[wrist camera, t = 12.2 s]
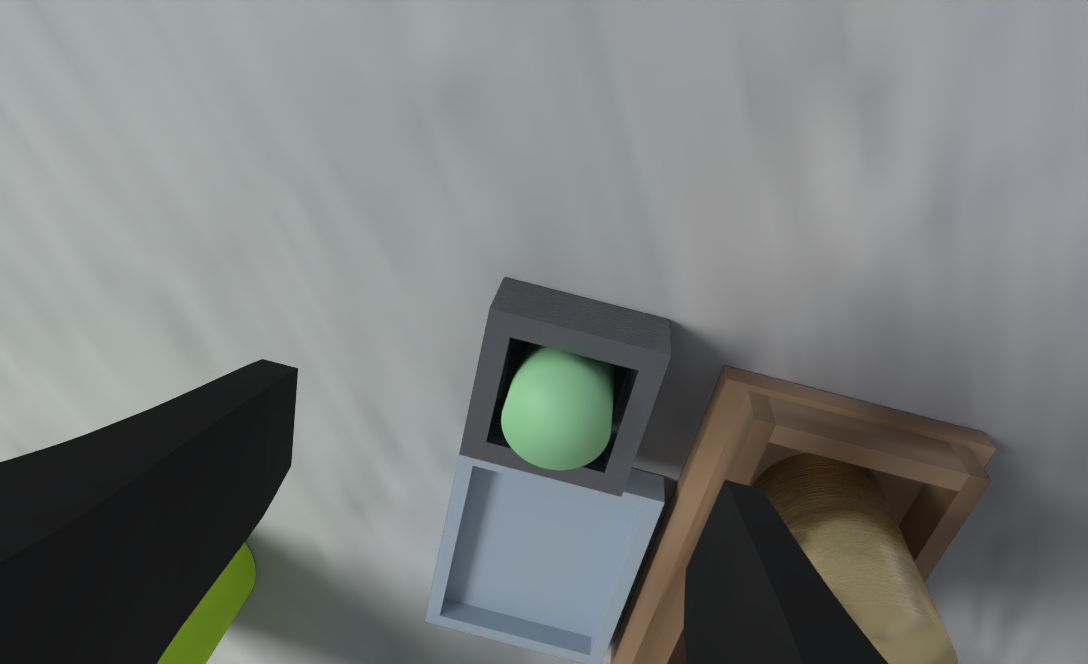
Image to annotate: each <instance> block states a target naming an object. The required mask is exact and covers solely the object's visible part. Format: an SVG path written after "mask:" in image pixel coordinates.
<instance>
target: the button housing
mask: <svg viewBox="0 0 1088 664" xmlns="http://www.w3.org/2000/svg"><path fill="white" fill-rule="evenodd" d="M514 338H515V339H519V340H523V341H526V342H530V343H534V344H538V345H542V346H546V347H550V348H553V349H557V350H561V351H565V352H569V353H573V354H577V355H581V356H584V357H588V358H592V359H596V360H600V361H604V362H608V363H611V364H615V365H619V366H623V367H627V368H628V371H627V374H626V377H625V380H624V383H623V386H622V389H621V392H620V396H619V399H618V402H617V405H616V408H615V411H614V414H613V417H612V423H611V434H610V438H609V441H608V444H607V446H606V447H605V449H604V451H603V452H602V453H601V454H600V455H599V456H598V457H597V458H596V459H595V460H593V461H592V462H590V463H588V464H586V465H584V466H582V467H579V468H575V469H571V470H550V469H545V468H542V467H538V466H536V465H533V464H531V463H529V462H528V461H526V460H524V459H523V458H522V457H520V456H519V455H518V454H517V453H516V452H515V451H514V450H513V449H512V448H511V447H510V445H509V444H508V442H507V440H506V438H505V436H504V433H503V430H502V425H501V416H502V411H503V408H504V405H505V404H504V403H500V398H501V394H502V390H503V385H504V381H505V377H506V372H507V368H508V364H509V359H510V355H511V351H512V346H513V342H514ZM670 358H671V340H670V325H669V319H665V318H661V317H657V316H653V315H649V314H645V313H641V312H637V311H634V310H630V309H626V308H622V307H618V306H614V305H610V304H606V303H603V302H599V301H595V300H591V299H587V298H583V297H579V296H575V295H572V294H568V293H564V292H560V291H556V290H552V289H548V288H544V287H541V286H537V285H533V284H529V283H525V282H521V281H517V280H513V279H510V278H506V277H504V278H503V281H502V283H501V285H500V287H499V289H498V291H497V294H496V296H495V298H494V300H493V302H492V304H491V306H490V309H489V314H488V319H487V324H486V328H485V333H484V338H483V343H482V348H481V352H480V357H479V362H478V367H477V372H476V376H475V381H474V386H473V391H472V396H471V400H470V405H469V410H468V415H467V420H466V424H465V429H464V434H463V439H462V444H461V449H460V453H459V455H462V456H466V457H470V458H474V459H478V460H482V461H485V462H489V463H493V464H497V465H501V466H505V467H508V468H512V469H516V470H520V471H524V472H528V473H531V474H535V475H539V476H543V477H547V478H551V479H554V480H558V481H562V482H566V483H570V484H574V485H577V486H581V487H585V488H589V489H593V490H597V491H600V492H604V493H608V494H612V495H616V496H620V497H622V494H623V491H624V488H625V485H626V483H627V480H628V477H629V474H630V471H631V468H632V466H633V463H634V460H635V457H636V454H637V451H638V449H639V446H640V443H641V440H642V437H643V434H644V432H645V429H646V426H647V423H648V420H649V418H650V415H651V412H652V409H653V406H654V403H655V401H656V398H657V395H658V392H659V389H660V386H661V384H662V381H663V378H664V375H665V372H666V369H667V367H668V364H669V361H670Z"/></svg>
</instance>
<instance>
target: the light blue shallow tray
mask: <svg viewBox="0 0 1088 664" xmlns="http://www.w3.org/2000/svg"><path fill="white" fill-rule="evenodd" d="M460 449H461V448H460ZM459 453H460V452H459ZM664 503H665V500H664V477H663V476H659V475H656V474H652V473H648V472H644V471H640V470H636V469H633V468H631V471H630V474H629V477H628V480H627V483H626V485H625V488H624V491H623V494H622V497H620V496H616V495H612V494H608V493H604V492H600V491H597V490H593V489H589V488H585V487H581V486H577V485H574V484H570V483H566V482H562V481H558V480H554V479H551V478H547V477H543V476H539V475H535V474H531V473H528V472H524V471H520V470H516V469H512V468H508V467H505V466H501V465H497V464H493V463H489V462H485V461H482V460H478V459H474V458H470V457H466V456H462V455H459V457H458V462H457V467H456V472H455V476H454V481H453V486H452V491H451V496H450V500H449V505H448V510H447V515H446V520H445V524H444V529H443V534H442V539H441V544H440V548H439V553H438V558H437V563H436V568H435V573H434V577H433V582H432V587H431V592H430V597H429V601H428V606H427V611H426V616H425V621H424V622H428V623H432V624H436V625H439V626H443V627H447V628H451V629H455V630H458V631H462V632H466V633H470V634H473V635H477V636H481V637H485V638H489V639H492V640H496V641H500V642H504V643H508V644H511V645H515V646H519V647H523V648H527V649H530V650H534V651H538V652H542V653H545V654H549V655H553V656H557V657H561V658H564V659H568V660H572V661H576V662H580V663H583V664H602V661H603V658H604V656H605V653H606V651H607V648H608V646H609V643H610V641H611V638H612V635H613V633H614V630H615V628H616V625H617V623H618V620H619V618H620V615H621V613H622V610H623V607H624V605H625V602H626V600H627V597H628V595H629V592H630V590H631V587H632V584H633V582H634V579H635V577H636V574H637V572H638V569H639V567H640V564H641V562H642V559H643V556H644V554H645V551H646V549H647V546H648V544H649V541H650V539H651V536H652V533H653V531H654V528H655V526H656V523H657V521H658V518H659V516H660V513H661V510H662V508H663V505H664Z"/></svg>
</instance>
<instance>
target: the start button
mask: <svg viewBox="0 0 1088 664" xmlns="http://www.w3.org/2000/svg"><path fill="white" fill-rule="evenodd" d="M614 384H615V369H614V365H613V364H611V363H608V362H604V361H600V360H596V359H592V358H588V357H584V356H581V355H577V354H573V353H569V352H565V351H561V350H557V349H553V348H550V347H546V346H542V345H538V344H534V343H529V344H528V345H527V346H526V347H525V349H524V350H523V352H522V354H521V356H520V359H519V362H518V365H517V368H516V371H515V374H514V377H513V380H512V383H511V386H510V389H509V392H508V395H507V398H506V401H505V405H504V408H503V411H502V416H501V425H502V430H503V433H504V436H505V438H506V440H507V442H508V444H509V445H510V447H511V448H512V449H513V450H514V451H515V452H516V453H517V454H518V455H519V456H520V457H522V458H523V459H524V460H526V461H528V462H529V463H531V464H533V465H536V466H538V467H542V468H545V469H550V470H571V469H575V468H579V467H582V466H584V465H586V464H588V463H590V462H592V461H593V460H595V459H596V458H597V457H598V456H599V455H600V454H601V453H602V452H603V451H604V449H605V447H606V446H607V444H608V441H609V438H610V434H611V423H612V410H613V397H614Z"/></svg>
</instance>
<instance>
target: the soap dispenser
mask: <svg viewBox="0 0 1088 664" xmlns="http://www.w3.org/2000/svg"><path fill="white" fill-rule="evenodd" d="M255 580H256V567H255V562H254V559H253V556H252V554H251V551H250V549H249V548H248V546H247V544H246V543H245V542H244V543H243V545H242V546H241V548H240V549H239V550H238V552H237V553H236V554H235V556H234V557H233V558H232V560H231V561H230V563H229V564H228V565H227V567H226V568H225V569H224V571H223V572H222V573H221V575H220V576H219V577H218V579H217V580H216V581H215V583H214V584H213V585H212V587H211V588H210V589H209V591H208V592H207V593H206V595H205V596H204V597H203V599H202V600H201V601H200V603H199V604H198V606H197V607H196V608H195V610H194V611H193V612H192V614H191V615H190V616H189V618H188V619H187V620H186V622H185V623H184V624H183V626H182V627H181V628H180V630H179V631H178V633H177V634H176V636H175V637H174V639H173V640H172V642H171V643H170V645H169V646H168V647H167V649H166V650H165V652H164V653H163V655H162V656H161V658H160V660H159V661H158V663H157V664H206V662H207V661H208V659H209V657H210V656H211V654H212V653H213V651H214V650H215V648H216V646H217V645H218V643H219V642H220V640H221V639H222V637H223V635H224V634H225V632H226V631H227V629H228V628H229V626H230V624H231V623H232V621H233V620H234V618H235V617H236V615H237V613H238V612H239V610H240V609H241V607H242V606H243V604H244V602H245V601H246V599H247V598H248V596H249V595H250V593H251V591H252V589H253V587H254V584H255Z"/></svg>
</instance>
